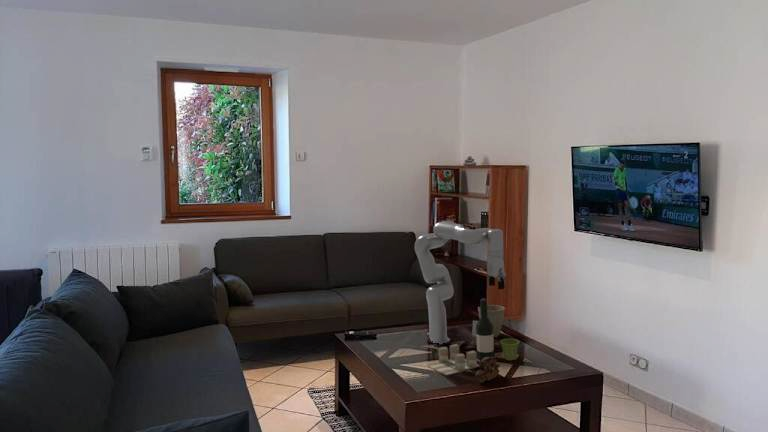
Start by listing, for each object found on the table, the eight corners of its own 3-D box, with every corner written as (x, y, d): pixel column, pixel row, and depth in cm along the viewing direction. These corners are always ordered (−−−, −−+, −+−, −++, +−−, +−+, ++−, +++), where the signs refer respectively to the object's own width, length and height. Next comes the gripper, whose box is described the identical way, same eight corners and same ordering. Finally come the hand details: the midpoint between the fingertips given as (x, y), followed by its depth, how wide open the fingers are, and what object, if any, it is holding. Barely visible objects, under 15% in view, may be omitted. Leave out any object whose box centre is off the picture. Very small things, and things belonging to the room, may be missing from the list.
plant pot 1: (508, 338, 321) (507, 310, 320) (481, 340, 321) (480, 311, 320) (502, 331, 336) (501, 304, 334) (477, 332, 336) (476, 305, 335)
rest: (426, 366, 282) (426, 351, 282) (459, 358, 292) (459, 343, 292) (446, 375, 269) (445, 359, 268) (480, 366, 278) (479, 351, 278)
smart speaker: (493, 344, 312) (492, 318, 311) (484, 348, 305) (483, 322, 304) (478, 341, 318) (477, 316, 317) (469, 345, 312) (468, 320, 311)
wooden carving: (484, 386, 253) (483, 364, 252) (475, 384, 256) (474, 362, 255) (502, 375, 265) (502, 354, 265) (493, 373, 268) (493, 352, 268)
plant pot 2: (521, 356, 290) (521, 339, 289) (517, 362, 282) (517, 345, 281) (503, 354, 294) (502, 338, 293) (498, 360, 285) (498, 343, 285)
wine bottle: (493, 355, 294) (491, 296, 292) (494, 360, 286) (492, 300, 283) (476, 355, 295) (474, 297, 292) (477, 361, 287) (475, 301, 284)
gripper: (481, 252, 299) (482, 285, 301) (497, 256, 283) (498, 291, 284) (494, 251, 302) (495, 283, 303) (511, 255, 285) (511, 289, 287)
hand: (496, 287), depth 294 cm, fingers open, 9 cm apart
